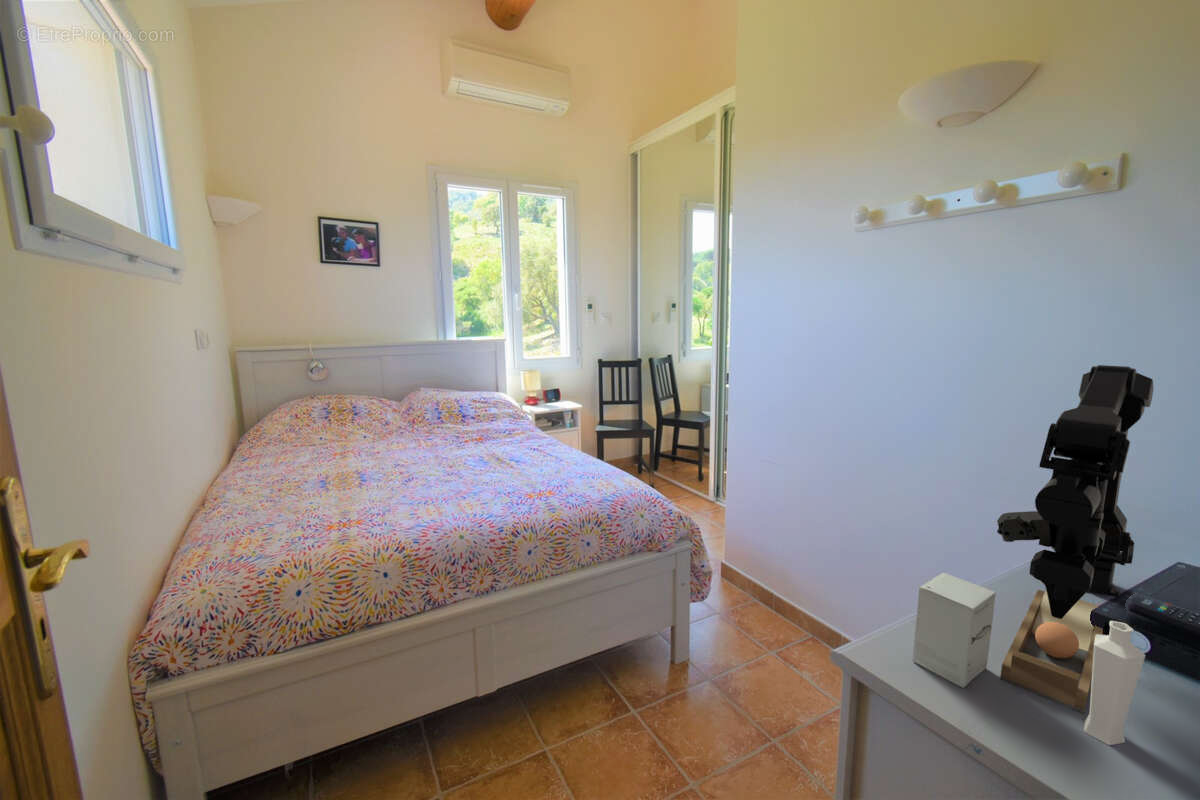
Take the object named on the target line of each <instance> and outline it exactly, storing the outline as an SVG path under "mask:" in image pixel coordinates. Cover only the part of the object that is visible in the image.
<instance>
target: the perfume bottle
mask: <svg viewBox="0 0 1200 800" xmlns="http://www.w3.org/2000/svg"><path fill="white" fill-rule="evenodd" d="M1108 625H1109V632H1108V633H1109V634H1107V635H1106V634H1103V635H1100V634H1096V635H1095V641H1094V653H1093V668H1092V683H1091V687H1090V699H1089V700H1090V702H1089V714H1088V716H1087V717H1086V719H1085V720H1084V726H1083V732H1085V733H1086V734H1088V735H1090V736H1092V737H1094V739H1097V740H1099V741H1100V742H1102V743H1104V744H1105V745H1108V746H1112V745H1113V746H1114V745H1119V744H1124V743H1126V739H1125V734H1124V730H1123V729H1124V727H1125V723H1126V720H1127V716H1128V714H1129V710H1130V706H1131V703H1132V700H1133V697H1134V694H1135V691H1136V688H1137V683H1138V681H1139V677H1140V674H1141V672H1142V668H1143V665H1144V662H1145V658H1146V654H1145V653H1144V652H1142V651H1141V650H1140V649H1138V647H1136V646H1135V645H1133V644H1132V643H1131V639H1132V638H1131V637H1132V632H1134V631H1135V630H1134V628H1132V627H1131V626H1129V624H1127V623H1126V622H1120V621H1115V620H1110V621H1109V623H1108Z"/></svg>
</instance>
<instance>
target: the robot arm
mask: <svg viewBox="0 0 1200 800" xmlns="http://www.w3.org/2000/svg"><path fill="white" fill-rule="evenodd" d="M1154 388H1155V387H1154V380H1153V379H1152V378H1150V377H1149V376H1145V375H1144V374H1141V373H1139V372H1137V369H1136V368H1131V366H1125V365H1123V366H1120V365H1119V366H1118V365H1103V364H1102V365H1101V364H1098V365H1096V366H1094V365H1093V366H1092V367H1091V368H1090V371H1088V372H1086V373H1084V374H1082V378H1081V382H1080V387H1079V392H1078V397H1079V399H1080V401H1079V403H1078V405H1077V407H1075V408H1072V409H1068V410H1065V411H1063V412H1061V413H1060V416H1059V417H1058V419H1057V420H1056V422H1055V423H1051V424H1050V425H1049V428H1048V432H1047V436H1046V439H1045V443H1044V447H1043V451H1042V454H1041V458H1040V461H1039V465H1038V466H1039V468H1042V469H1047V470H1052V476H1051V478H1050V480H1048V482H1047V483H1046V484H1045V485H1044V486H1043V487H1042V489H1040V490H1039V491H1038V493H1037V495H1036V496H1035V499H1034V505H1035V509H1036V510H1033V511H1016V512H1015V511H1014V512H1005V513H1002V514H1000V516H999V517H998V519H997V521H996V522H997V526H998V529H997V531H996V532H997V534H998V535H1001V537H1002V540H1003V542H1006V543H1013V542H1015V541H1036V540H1037V541H1038V545H1039V546H1042V547H1047V548H1051V549H1052V550H1048V549H1042V550H1039V551H1037V552H1035V553H1034V555H1033V557H1032V559H1031V561H1030V567H1029V575H1031V576H1032V577H1033V578H1034V579H1036V580H1038V581H1040V582H1041V583H1042V584H1043V586H1045V590H1046V591H1047V595H1048V600H1049V605H1050V610H1051V615H1052V616H1053V617H1055V618H1058V619H1062V618H1063V617H1064V616H1065V615H1066V614H1067V612H1068V611H1069V610H1070V609H1071V608H1072V607H1073V606H1074V605H1075V604H1076V603H1077V602H1078V600H1081V598H1082V597H1084V595H1085V594H1086V593H1088V592H1093V593H1097V594H1098V593H1099V594H1103V595H1104V594H1106V595H1111V596H1118V595H1121V592H1120V591H1119V590H1118V588H1117V587H1116V586H1115V585H1114V583H1113V582H1114V576H1115V570H1116V564H1117V565H1120V566H1123V567H1125V566H1126V564H1132V563H1133V558H1134V553H1135V551H1134V550H1135V541H1134V540H1133V539H1132V536H1131V532H1128V531H1127V524H1128V518H1127V517H1126V516H1125V514H1124V513H1123V511H1122V510H1121V509H1120V507H1119V505H1118V500H1119V496H1120V495H1119V493H1120V489H1121V480H1122V474H1123V473H1124V471H1125V466H1126V462H1127V457H1128V454H1129V450H1130V444H1131V441H1130V440H1129V439H1128V433H1129V430H1130V428H1132V427H1133V426H1134V425H1135V424H1136V423H1138V421H1140V420H1141V418H1142V416H1143V414H1144V412H1145V408H1150V407H1151V404H1152V401H1153V394H1154ZM1052 455H1054V456H1052Z"/></svg>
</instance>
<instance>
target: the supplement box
mask: <svg viewBox="0 0 1200 800" xmlns="http://www.w3.org/2000/svg"><path fill="white" fill-rule="evenodd" d="M995 601H996V592H995V591H993V590H991V589H988V588H986V587H983V586H980V585H978V584H975V583H973V582H971V581H968V580H964V579H962V578H959V577H958V576H957V577H956V576H954V575H950V574H949V573H946V572H941V573H940V574H938V575H937V576H935V577H934V578H932V579H930V580H929V581H927V582H926V583H924V584H922V585H921V586H919V587H918V597H917V608H916V618H915V619H916V620H915V627H914V630H915V631H914V640H913V648H912V650H913V651H912V662H914V663H915V664H918V665H919V666H921V667H923V668H925V669H926V670H929V671H930V672H932V673H934V674H935V675H938V676H940V677H941V678H943V679H945V680H947V681H949V682H950V683H952V684H954V685H956V686H958V687H960V688H963V689H964V688H965V687H967V686H968V684H969V683H970V682H971V681H972V680H973V679H975V677H977V676H978V675H979V674H980V673H982V672H983V671H984V670H986V669H987V667H988V660H989V659H988V658H989V652H990V651H989V650H990V643H991V637H992V636H991V635H992V630H993V629H992V628H993V627H992V626H993V618H994V611H995V604H996V603H995Z"/></svg>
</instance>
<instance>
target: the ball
mask: <svg viewBox="0 0 1200 800" xmlns="http://www.w3.org/2000/svg"><path fill="white" fill-rule="evenodd" d="M1035 639H1036V642H1037V644H1038V645H1039V647H1040V648H1041V649H1042V650H1043V651H1044V652H1046V653H1047V654H1049V655H1051V656H1053V657H1056V658H1069V657H1072V656H1074V655H1075V654H1076V653H1077V651H1078V649H1079V641H1078V638H1077V636H1076V635H1075V633H1074V632H1073V631H1072V630H1071V629H1069V628H1068V627H1067V626H1065V625H1063V624H1060V623H1056V622H1046V623H1043V624H1041V625H1040V626H1039V627H1038V628H1037V630H1036V632H1035Z"/></svg>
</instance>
